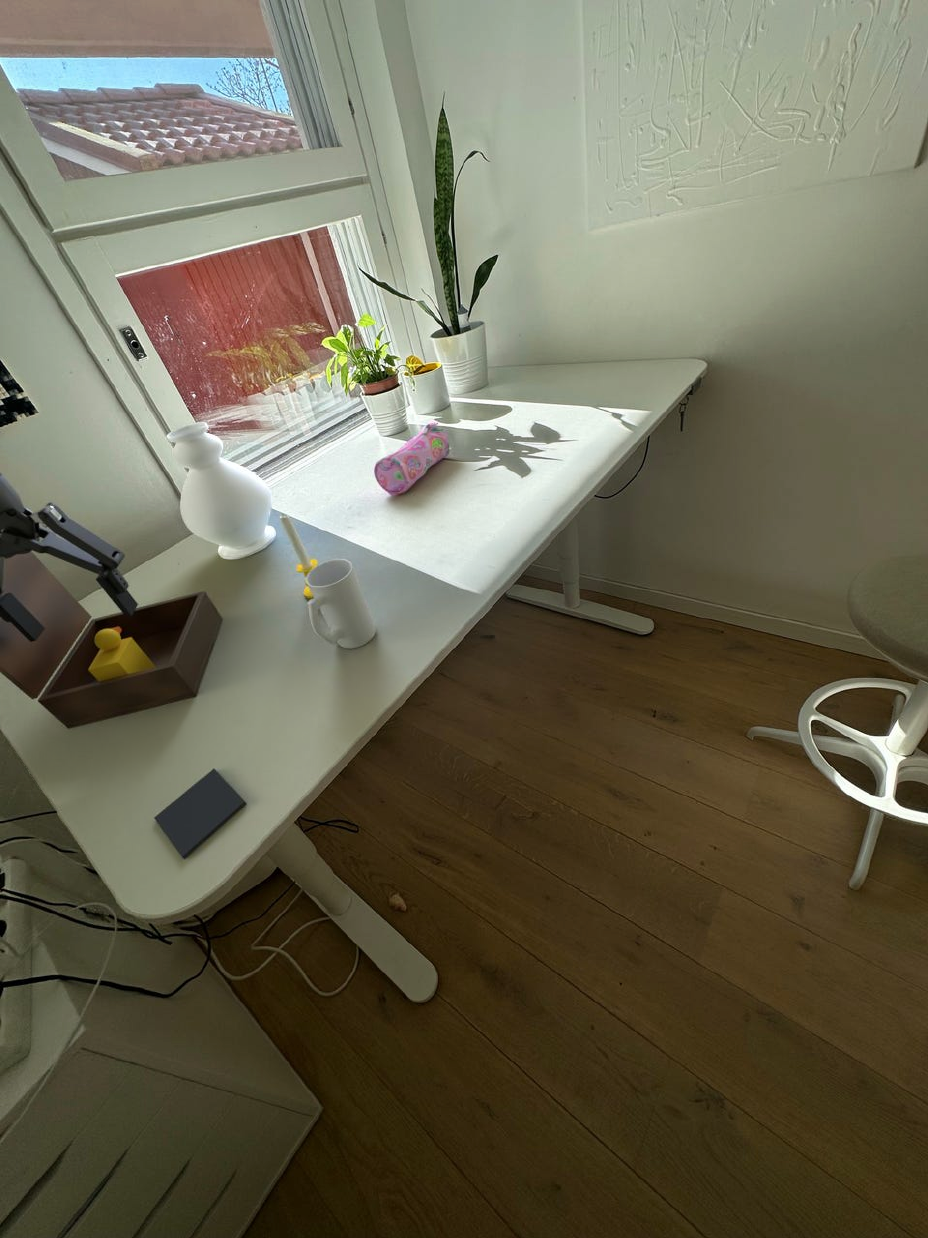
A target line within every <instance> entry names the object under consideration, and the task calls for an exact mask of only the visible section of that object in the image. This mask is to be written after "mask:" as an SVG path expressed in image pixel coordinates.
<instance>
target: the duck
mask: <svg viewBox="0 0 928 1238" xmlns="http://www.w3.org/2000/svg"><path fill="white" fill-rule="evenodd" d="M121 631H122V630H121V628H120V627H119V626H118V627H115V628H111V629H103V630H101V631H99V632H98V633H97V634H96V635H95V638H94V641H95V644H96V646H97V647H98V648H100V651H99V652H98V654H97V656H96V657H95V659H94V660H93V662H92V664H91V665H90V667H89V669H88V670H89V671H90V672H91V674H92V675H93V676H94V677H95V678H96V679H97V680H98V681H103V680H107V679H111V678H114V677H118V676H122V675H126V674H130V673H134V672H138V671H142V670H146V669H150V668H154V667H155V665H154V664H153V663H152V662H151V660H150V659H149V658H148V657H147V656H146V654H145V653H144V652H143V651H142V649H141V648H140V647H139V646H138V645H137V643H136V642H135V641H134V640H133V639H132V637H130V638H126V639H122V640H121V637H120V635H119V634H120V633H121Z"/></svg>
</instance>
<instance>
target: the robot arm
mask: <svg viewBox="0 0 928 1238" xmlns="http://www.w3.org/2000/svg"><path fill="white" fill-rule="evenodd" d="M40 539H42V540H41V541H40ZM31 551H32V552H35V553H38V554H48V555H50V556H52V557H54V558H56V559H59V560H62V561H64V562H67V563H69V564H72V565H74V566H77V567H80V568H81V569H84V570H86V571H89V572H92V573H94V574H97V577H96V578H95V581H96V582H97V583H98V584H99V586H100V587H101V588H102V589H103V591H104V592H105V593H106V594H107V595H108V597H109V598H110V599H111V600H112V602H114V604H115V606H116V607H117V608H118V609H119V610H120V612H122V613H123V614H124V615H125V616H126V617H130V616H132V614H133V613H134V611H135V609H136V608H138V607H139V606H138V605H139V603H138V602H137V601H136V600H135V598H134V596H133V595H132V594H131V593H130V591H129V590H128V589H129V582H128V581H127V580H126V579H125V577H124V576H123V574H122V573H121V571H119V569H118V567H119V566H120V565H121V563H122V562H123V560H124V558H125V557H126V554H125V553H124V552H123V551H122V550H120V549H118V548H117V547H115V546H114V545H112V544H111V543H109V542H108V541H106V540H104V539H103V538H101V537H100V536H99V535H97V534H95V533H94V532H92V531H91V530H89V529H88V528H86V527H85V526H83V525H81V524H80V523H79V522H76V521H75V520H74V519H72V518H70V517H69V516H68V515H67V514H66V513H65V512H64V510H62V508H61V507H60V506H59V505H57V504H56V503H55V502H48V503H46V504H45V505H44V506H43V507H42V508H39V509H37V510H35V511H32V510H30V509H28V508H27V507H26V506H25V505H24V503H23V501H22V498H21V496H20V494H19V493H18V491H17V490H16V489H15V488H14V486H13V485H12V484H11V483H10V482H9V480H8V479H7V478H6V476H5V475H4V474H3V473H2V472H0V617H1V618H2V619H3V620H4V621H6V622H11V623H12V624H13V625H14V626H15V627H16V628H17V629H18V630H19V631H20V632H21V633H22V634H23V635H24V636H25V637H26V638H27V639H28V640H29V641H30V642H33V641H36V640H37V639H38V637H39V636H40V635H41V633H42V632H43V631H44V629H45V628H44V626H43V625H42V624H41V623H40V622H39V621H38V620H37V619H36V618H35V617H34V616H33V615H32V614H31V613H30V612H29V611H28V610H27V609H26V608H25V607H24V606H23V605H22V604H21V603H20V601H19V600H18V599H17V598H16V597H15V596H14V595H13V594H12V593H11V592H10V593H6V594H5V595H4V596H2V595H1V594H2V593H3V592H4V591H5V589H4V590H3V571H4V558H5V559H7V558H11V557H13V556H14V555H16V554H26V553H30V552H31ZM2 590H3V591H2Z"/></svg>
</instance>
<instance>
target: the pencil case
mask: <svg viewBox="0 0 928 1238" xmlns="http://www.w3.org/2000/svg"><path fill="white" fill-rule="evenodd" d="M437 425H439V422H429V423H427V424H426V425H424V426H422V427H421V428H420V430H419V432H418V433H417V435H415V436H414V437H413V438H411V439H410V440H408V441H407V442H406V443H404V445H401V447H400V448H399V449H397V450H396V451H395V452H392V453H390V454H387V455H386V456H384V457H382V458H380V459H379V460H377V461H376V463H375V465H374V469H373V473H374V477H375V480H376V482H377V484H378V485H379V486H380V487H381V488H382V490H383V491H385V492H386V493H388V494H389V495H392V496H397V495H401V494H404V493H406V492H407V491H408V490H410V488H412V487H413V485H414V484H415V482H417V481H418V480H419V479H420V478H421V477H423V476H424V475H425V474H426V473H427V471H428V469H430V468H431V467H432V466H434V465H436V464H437V463H438V462H440V461H441V460H442V459H445V458H447V457H448V456H449V454H450V449H451V448H450V441H449V436H448V433H447V432H446V430H444V429H443V428H441V427H439V426H437Z"/></svg>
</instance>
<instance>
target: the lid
mask: <svg viewBox="0 0 928 1238" xmlns="http://www.w3.org/2000/svg"><path fill="white" fill-rule="evenodd" d="M4 589H5V591H4V592H3V593H2V594H1V595H2V596H4V595H5V594H6V593H10V592H11V593H12V594H13V595H14V596H15V597H16V598H17V599H18V600H19V601H20V603H21V604H22V605H23V606H24V607H25V608H26V609H27V610H28V611H29V612H30V613H31V614H32V615H33V616H34V617H35V618H36V619H37V620H38V621H39V622H40V623H41V624H42V625H43V626H44V628H45V629H44V631H43V632H42V633H41V635H40V636H39V637H38V639H37V640H36V641H33V642H30V641H29V640H28V639H27V638H26V637H25V636H24V635H23V634H22V633H21V632H20V631H19V630H18V629H17V628H16V627H15V626H14V625H13V624H12V623H11V622H6V621H4V620H3V619H2V618H1V617H0V674H2V676H4V677H5V678H6V679H8V680H9V681H10V682H11V683H12V684H14V685H15V686H16V687H17V688H18V689H19V690H20V691H22V692H23V693H24V694H25V695H26V696H27V697H29V698H30V699H31V700H36V699H37V698H38V699H39V697H40V696H41V694H42V693H43V691H44V690H45V688H46V687H47V686H46V685H48V684H49V682H50V681H51V679H52V678H53V676H54V675H55V673H56V672H57V670H58V669H59V666H61V664H62V663H63V661H64V660H65V658H66V657H67V655H68V654H69V652H70V651H71V649H72V648H73V646H74V645H75V643H76V642H77V640H78V639H79V637H80V636H81V634H82V633H83V632H84V630H85V629H86V627H87V626H88V624H89V623H90V621H91V620H92V615H91V614H90V613H89V612H88V611H87V610H86V608H84V607H83V605H82V604H81V603H80V602H79V601H78V600H77V598H75V597H74V596H73V595H72V593H71V592H70V591H69V590H68V589H67V588H66V587H65V586H64V585H63V584H62V582H61V581H60V580H58V579H57V577H56V576H55V575H54V574H53V573H52V572H51V571H50V569H49V568H48V567H47V566H46V565H45V564H44V563H43V562H42V561H41V560H40V559H39V557H37V556H36V554H35V553H34V551H31V552H30V553H26V554H16V555H14V556H13V557H11V558H7V559H5V558H4V571H3V590H4ZM3 590H2V591H3Z"/></svg>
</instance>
